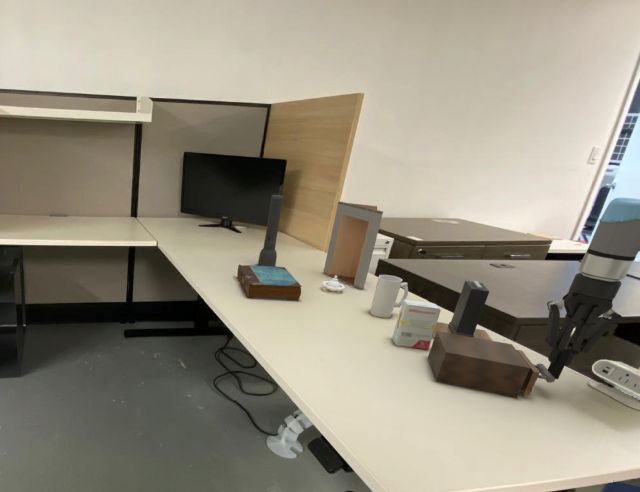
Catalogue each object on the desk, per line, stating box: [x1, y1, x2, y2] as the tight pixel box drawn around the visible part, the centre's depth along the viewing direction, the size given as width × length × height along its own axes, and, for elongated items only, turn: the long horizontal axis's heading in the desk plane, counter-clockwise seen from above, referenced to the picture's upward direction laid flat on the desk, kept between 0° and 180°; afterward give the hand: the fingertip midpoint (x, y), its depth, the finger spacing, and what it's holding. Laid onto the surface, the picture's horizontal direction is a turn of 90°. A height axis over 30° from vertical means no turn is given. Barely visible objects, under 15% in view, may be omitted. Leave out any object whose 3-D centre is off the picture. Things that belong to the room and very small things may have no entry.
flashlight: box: [257, 194, 284, 267], centre depth 185 cm, size 7×28×7 cm
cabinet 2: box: [427, 331, 530, 399], centre depth 110 cm, size 17×14×8 cm
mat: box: [432, 321, 493, 341], centre depth 136 cm, size 16×14×1 cm
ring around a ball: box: [321, 275, 346, 293], centre depth 166 cm, size 8×6×8 cm
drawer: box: [516, 349, 556, 396], centre depth 109 cm, size 20×12×6 cm, turn 71°
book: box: [236, 264, 303, 302], centre depth 162 cm, size 23×18×5 cm
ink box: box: [391, 299, 442, 350], centre depth 125 cm, size 9×5×12 cm, turn 78°
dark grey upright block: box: [448, 280, 490, 337], centre depth 133 cm, size 5×9×15 cm, turn 161°
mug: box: [369, 274, 409, 319], centre depth 145 cm, size 10×7×12 cm, turn 89°
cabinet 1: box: [322, 201, 384, 290], centre depth 175 cm, size 21×10×28 cm, turn 23°
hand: (551, 376), depth 106 cm, fingers closed
